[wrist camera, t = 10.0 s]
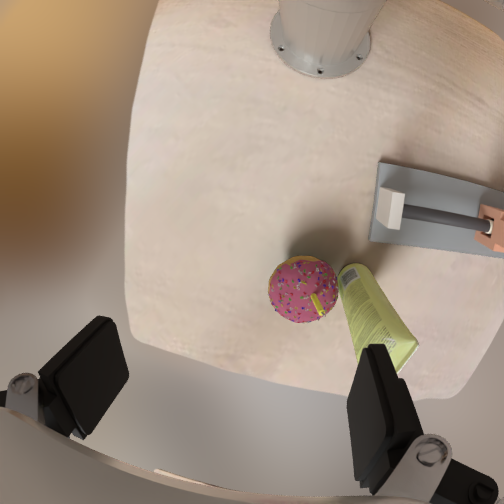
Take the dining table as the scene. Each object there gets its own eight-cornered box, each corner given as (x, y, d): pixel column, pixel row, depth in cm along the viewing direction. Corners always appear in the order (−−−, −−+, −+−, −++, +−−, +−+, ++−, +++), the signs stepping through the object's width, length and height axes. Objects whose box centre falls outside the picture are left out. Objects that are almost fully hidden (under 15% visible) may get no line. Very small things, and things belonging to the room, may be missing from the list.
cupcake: (316, 233, 36) (326, 269, 25) (344, 286, 38) (361, 336, 27) (259, 264, 39) (244, 309, 28) (290, 313, 40) (287, 369, 29)
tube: (375, 293, 38) (421, 391, 19) (342, 304, 39) (367, 409, 21) (367, 256, 36) (420, 344, 18) (331, 268, 38) (357, 366, 19)
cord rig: (368, 239, 36) (385, 260, 28) (378, 162, 32) (400, 164, 25) (509, 257, 32) (536, 276, 25) (520, 198, 29) (552, 208, 22)
